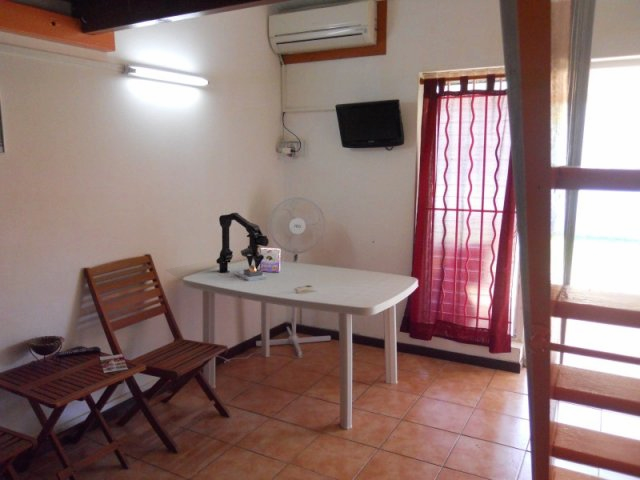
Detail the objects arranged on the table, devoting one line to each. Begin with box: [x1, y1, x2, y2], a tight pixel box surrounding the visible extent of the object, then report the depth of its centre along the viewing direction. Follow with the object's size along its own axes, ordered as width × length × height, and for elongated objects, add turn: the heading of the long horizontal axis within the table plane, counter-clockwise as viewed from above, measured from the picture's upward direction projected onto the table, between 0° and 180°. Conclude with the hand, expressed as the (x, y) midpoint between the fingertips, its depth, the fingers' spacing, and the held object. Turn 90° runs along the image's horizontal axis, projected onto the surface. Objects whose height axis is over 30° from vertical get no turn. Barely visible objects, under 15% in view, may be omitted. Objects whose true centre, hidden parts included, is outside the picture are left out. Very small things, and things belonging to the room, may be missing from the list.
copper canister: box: [248, 264, 258, 272], centre depth 331 cm, size 5×5×8 cm
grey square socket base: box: [236, 268, 267, 282], centre depth 333 cm, size 17×13×5 cm
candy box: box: [259, 247, 282, 273], centre depth 351 cm, size 14×6×16 cm, turn 84°
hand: (253, 267), depth 330 cm, fingers open, 9 cm apart
